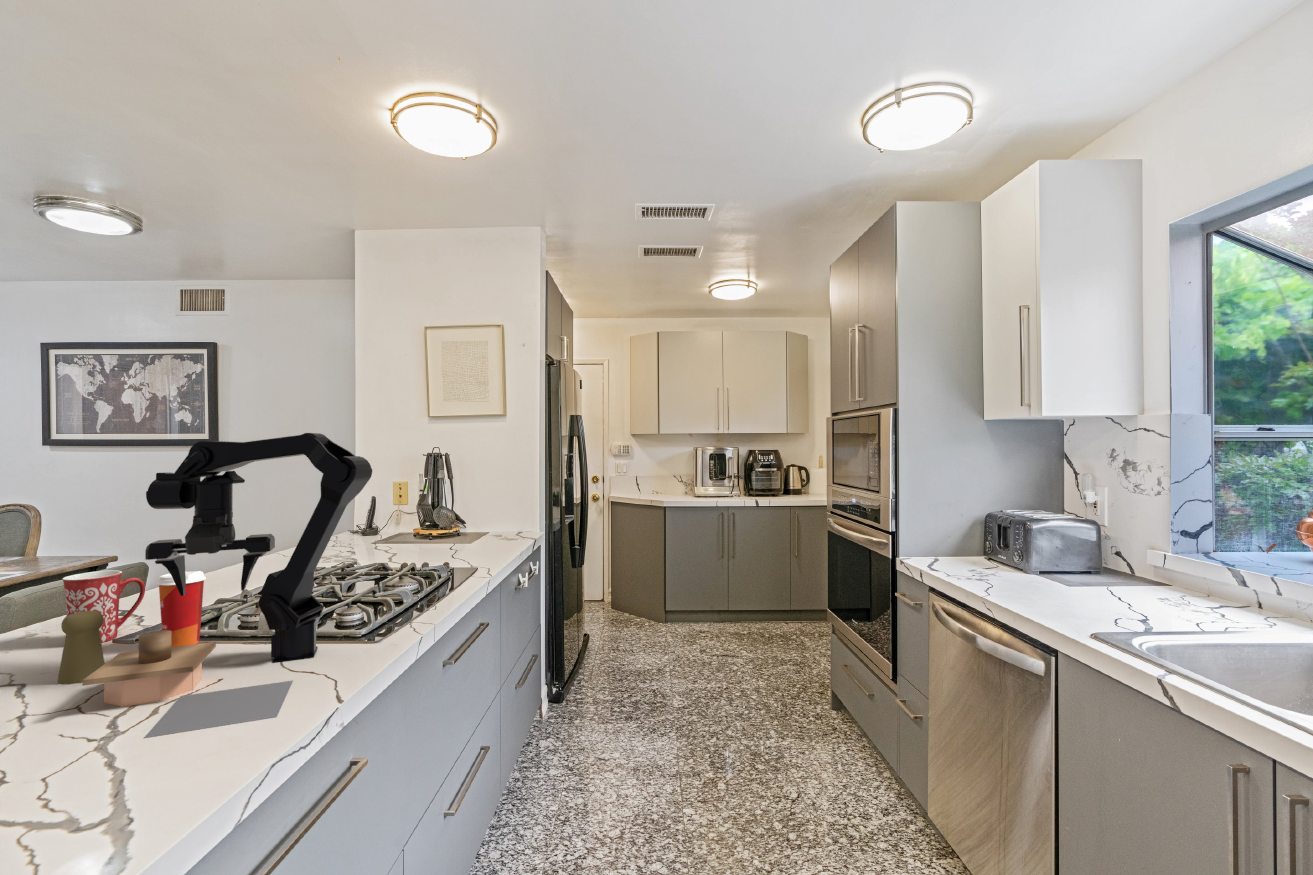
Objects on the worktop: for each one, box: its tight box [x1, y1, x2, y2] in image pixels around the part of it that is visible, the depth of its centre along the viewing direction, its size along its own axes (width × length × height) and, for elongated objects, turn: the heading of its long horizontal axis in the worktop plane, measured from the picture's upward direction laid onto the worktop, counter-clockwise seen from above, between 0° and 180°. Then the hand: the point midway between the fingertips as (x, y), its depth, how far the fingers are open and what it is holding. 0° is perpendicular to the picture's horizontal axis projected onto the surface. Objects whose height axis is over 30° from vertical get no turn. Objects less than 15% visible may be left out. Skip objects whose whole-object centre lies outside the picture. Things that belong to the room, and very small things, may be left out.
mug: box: [61, 569, 146, 644], centre depth 125 cm, size 13×9×14 cm
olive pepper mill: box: [57, 611, 106, 685], centre depth 103 cm, size 6×6×11 cm
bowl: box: [103, 661, 203, 708], centre depth 96 cm, size 11×11×4 cm
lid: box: [81, 629, 217, 687], centre depth 96 cm, size 13×13×5 cm
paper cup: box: [156, 570, 207, 647], centre depth 120 cm, size 8×8×14 cm
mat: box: [143, 680, 294, 739], centre depth 89 cm, size 15×15×1 cm
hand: (213, 592), depth 112 cm, fingers open, 9 cm apart
